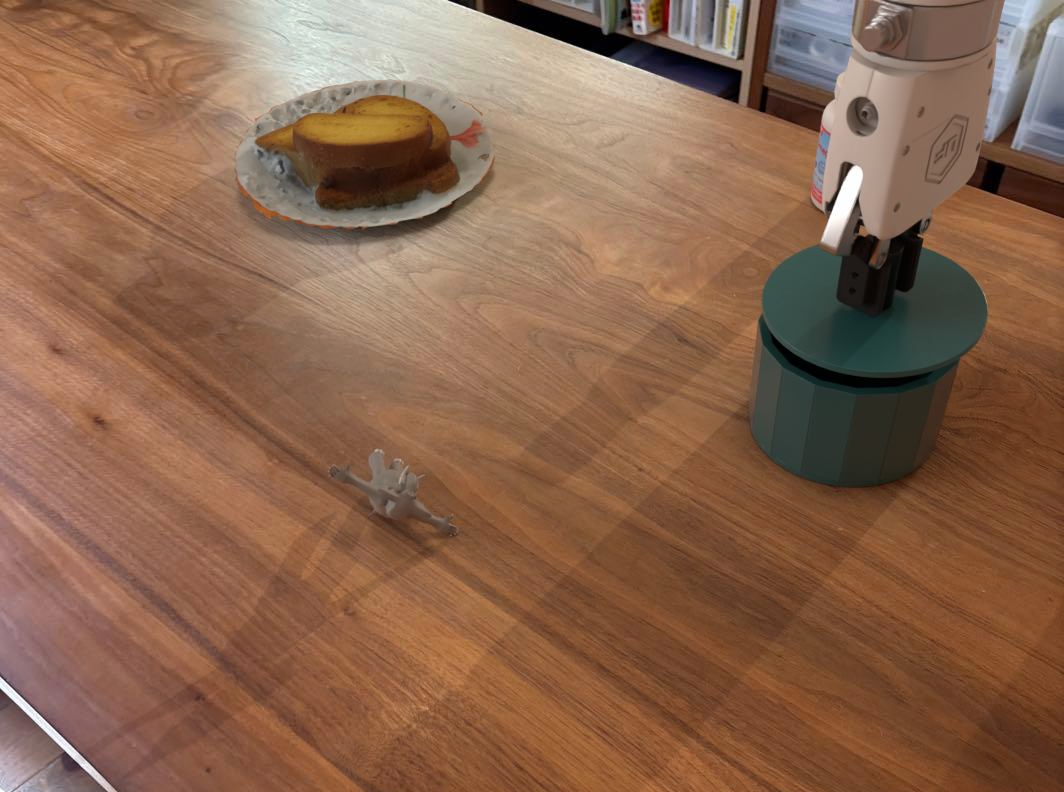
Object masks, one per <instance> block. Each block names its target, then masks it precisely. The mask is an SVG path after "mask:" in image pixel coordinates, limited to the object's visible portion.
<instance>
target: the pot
mask: <svg viewBox="0 0 1064 792" xmlns="http://www.w3.org/2000/svg"><path fill="white" fill-rule="evenodd" d="M756 326H757V327H756V334H755V335H756V336H755V344H754V352H753V353H754V354H753V359H752V370H751V379H750V386H749V387H750V388H749V395H748V396H749V397H748V406H747V409H748V421H749V422H748V423H749V428H750V431H751V434H752V436H753V438H754V440H755V442H756V443H757V445H758V447H759V448H760V449H761V450H762V452H763V453H764V454H765V455H766V456H767V457H768V458H769V459H770V460H772V461H773V462H774V463H775V464H777V465H778V466H780V467H781V468H783V469H784V470H786V471H788V472H789V473H792V474H794V475H796V476H799V477H800V478H803V479H806V480H808V481H812V482H815V483H818V484H823V485H827V486H828V485H829V486H835V487H842V488H843V487H844V488H861V487H872V486H879V485H884V484H887V483H891V482H894V481H896V480H899V479H901V478H904V477H905V476H908V475H910V474H911V473H913V472H914V471H916V470H918V468H920V467H921V466H922V465H923V464H924V463H925V462H926V461H927V460H928V459H929V457H930V455H932V453H933V451H934V450H935V448H936V444H937V441H938V437H939V435H940V434H939V433H940V430H941V427H942V423H943V421H944V417H945V414H946V411H947V406H948V403H949V400H950V396H951V393H952V389H953V386H954V383H955V380H956V377H957V372H958V369H959V365H960V362H961V358H962V357H961V358H960V359H958V360H956V361H955V362H953V363H951V364H949V365H947V366H944V367H942V368H940V369H937V370H934V371H930V372H927V373H923V374H918V375H913V376H907V377H896V378H872V377H861V376H854V375H848V374H843V373H839V372H835V371H831V370H829V369H826V368H823V367H820V366H817V365H815V364H813V363H811V362H808V361H806V360H804V359H802V358H801V357H799V356H797V355H796V354H794V353H792V352H791V351H790V350H788V349H787V348H786V347H784V346H783V345H782V344H781V343H780V342H779V341H778V340H777V339H776V338H775V337H774V335H773V334H772V333H771V331H770V330H769V328H768V326H767V324H766V322H765V320H764V317H763V313H762V312H761V313H760V315H759V318H758V320H757V325H756Z"/></svg>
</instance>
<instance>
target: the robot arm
mask: <svg viewBox="0 0 1064 792" xmlns="http://www.w3.org/2000/svg"><path fill="white" fill-rule="evenodd" d="M1005 2H1006V0H854V6H853V14H852V22H851V30H850V35H849V36H850V37H849V38H850V44H851V46H852V48H853V50H852V51H851V52H850V55H849V58H848V62H847V66H846V69H845V71H846V72H845V71H844V72H845V76H844V79H843V83H842V87H841V91H840V95H839V99H838V104H837V108H836V112H835V117H834V121H833V126H832V131H831V136H830V141H829V147H828V152H827V158H826V165H825V172H824V180H823V191H822V207H823V211H822V212H823V214H824V216H825V217H826V218H828V220H827V223H826V225H825V227H824V231H823V233H822V236H821V238H820V241H819V243H818V244H819V247H820V249H822V250H824V251H826V252H828V253H831V254H833V255H835V256H838V257H840V256H842V261H841V268H840V274H839V281H838V287H837V294H836V297H837V299H838V301H839V302H841V303H843V304H845V305H847V306H850V307H852V308H854V309H856V310H858V311H860V312H862V313H864V314H866V315H869V316H871V317H877V316H878V315H879V314H881V313H882V311H883V306H884V301H885V296H886V290H887V285H888V280H889V275H890V270H891V265H892V263H890V262H888V261H886V258H887V254H888V250H889V245H890V241H891V238H894V237H896V236H898V235H899V236H900V237H902V238H903V240H904V242H905V248H904V253H903V258H902V263H901V267H900V272H899V277H898V282H897V287H896V290H899V291H901V292H908V291H909V290H910V289H912V288H913V286H914V281H915V277H916V272H917V267H918V263H919V258H920V254H921V249H922V247H923V244H924V239H925V238H923V237H921V236H924V235H925V234H926V233H927V232H928V230H929V228H930V226H931V225H932V219H933V215H934V210H935V209H937V208H938V207H939V206H940V205H942V204H943V203H944V202H945V201H947V200H948V199H949V198H951V197H952V196H953V195H954V194H956V193H957V192H958V191H959V190H961V189H962V188H963V187H964V186H965V185H966V184H967V183H968V182H969V180H970V179H971V178H972V177H973V175H974V173H975V172H976V168H977V165H978V161H979V156H980V152H981V148H982V147H981V146H982V144H983V143H982V142H983V139H984V134H985V133H984V132H985V127H986V122H987V117H988V112H989V107H990V99H991V96H992V89H993V81H994V75H995V69H996V68H995V66H996V59H997V47H998V45H997V43H998V31H999V27H1000V22H1001V20H1002V19H1001V18H1002V14H1003V10H1004V6H1005ZM861 227H864V228H865V231H866V232H867V235H868V234H871V235H873V236H874V239H873V242H872V241H871V240H870V239H868V238H867V237H865V236H866V235H862V234H861V233H860V231H861V230H860V229H861ZM919 235H920V236H919Z"/></svg>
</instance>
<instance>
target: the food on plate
mask: <svg viewBox="0 0 1064 792" xmlns="http://www.w3.org/2000/svg"><path fill="white" fill-rule="evenodd" d="M483 116H484V114H483V112H481V111H480V110H478V109H477V108H476V107H475V106H474V105H473V104H471V103H469V102H467V101H462V100H461V99H460V98H457V97H456V96H454V95H453V94H452V93H449V92H447V91H444V90H441V89H439V88H437V87H435V86H433V85H430V84H421V83H418V82H412V81H408V80H401V79H399V80H396V79H392V78H391V79H371V80H361V81H358V80H354V81H353V82H348V83H343V84H334V85H329V86H328V85H327V86H324V87H322V88H320V89H316V90H313V91H311V92H306V93H305V92H304V93H303V94H300V95H298V96H296V97H294V98H292V99H289V100H287V101H285V102H283V103H280V104H277V105H275V106H273V107H271V108H270V110H269V111H268V112H266V113H264V114H262V115H260V116H258V117H256V118H254V124H253V125H251V126H250V127H249V128H248V129H247V130H246V131H245V132H244V134H243V135H244V136H243V140H242V141H240V142H239V143H238V145H237V146H236V151H235V154H234V157H235V158H234V162H235V165H234V171H235V175H236V177H235V181H237V186H238V189H239V190H240V191H241V192H242V194H243V196H244V197H248V198H249V199H251V201H252V204H253V207H254V209H255V210H257V211H258V212H259V213H261V214H263V215H264V217H265V218H266V219H269V220H272V217H276V216H277V217H278V218H279V219H280V220H282V221H296V224H297V225H300V224H303V225H306V226H312V227H319V228H321V229H323V230H327V229H338V228H340V227H341V228H343V229H345V230H349V231H351V230H353V229H357V228H359V227H361V231H363V230H365V229H367V228H369V227H370V228H371V227H379V226H386V225H387V226H388V225H389V226H393V225H397V224H399V222H403V221H408V220H413V219H418V220H419V219H423V218H424V217H425V216H429V215H431V214H434V213H436V212H438V211H439V210H440V209H443V208H447V207H449V206H451V205H452V204H453V201H456V200H457V199H458V198H460V197H462V196H463V195H465V194H467V192H470V191H473V188H474V187H475V186H477V185H479V184H482V183H483V181H484V180H485V177H486V175H487V174H489V171H490V170H491V169H492V168H493V166H494V162H495V160H496V157H495V156H494V147H493V146H492V142H493V138H492V137H491V136H490V134H489V130H488V128H487V126H486V124H485V122H484V121H483V118H482V117H483ZM483 155H488V157H487V158H486V159H483V158H482V157H481V156H483Z"/></svg>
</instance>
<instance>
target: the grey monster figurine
mask: <svg viewBox="0 0 1064 792" xmlns="http://www.w3.org/2000/svg"><path fill="white" fill-rule="evenodd" d="M385 454H386V453H385V452H384V451H383V449H379V448H376V449H374V450H373V451H372V452H371V453H370V455H369V456H368V460H367V461H368V468H369V469H370V471H371V474H372V475H371V476H372V478H371V480H370V481H366V480H364V479H362V478H360V477H358V476H356V475H355V474H354V473H353V472H352V470H351V469H350V466H351V465H350V460H347V461H346V465H345V468H344V469H343V468H341V467H339V466H337V465H336V464H335V463H331V464H332V465H331V466H328V469H327V473H328V476H329V478H330V477H331V478H333V479H335V480H336V481H338V482H340V483H342V484H346V485H347V484H348V485H350V486H353V487H354V488H356V489H358V491H360V492H362V493H363V494H365V495H366V496H368V501H369V503H370V505H371V506H372V507H373V510H372V511H371V512H370V513H368V514H367V518H369V519H370V518H371V517H373V516H375V515H377V514H379V515H381V516H382V517H385V518H387V519H392V520H395V521H398V522H402V521H405V520H406V519H411V520H414V521H417V522H419V523H423V524H427V525H429V526H431V527H433V528H434V529H435V530H436V531H437V532H439V533H441V534H445V535H448V536H450V537H452V536H456V535H457V534H458V533H459V529H460V527H459V526H457V525H454V524H452V523H450V522H451V520H452V519H453V518H454V515H455V514H453V513H451V514H449V515H447V516H446V517H438V516H436V515H434V514H432V512H431V511H429V510H428V509H427V508H426V506H425V505H424V504H423V503H421V502H420V501H419V500H417V497H418V496H417V495H418V494H417V493H418V488H419V484H420V483H421V481H422V480H423V479H425V478H426V477H427V474H421V475H419V476H417V475H416V473H414V472H412V471H410V469H411V467H412V466H411V465H410V464H408V465H406V467H405V468H404V464H405V463H404V461H403V460H402V459H401V458H394V459H393V460H392V461H391V462H390V463H389V464H388V466H386V461H385V456H386V455H385Z"/></svg>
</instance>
